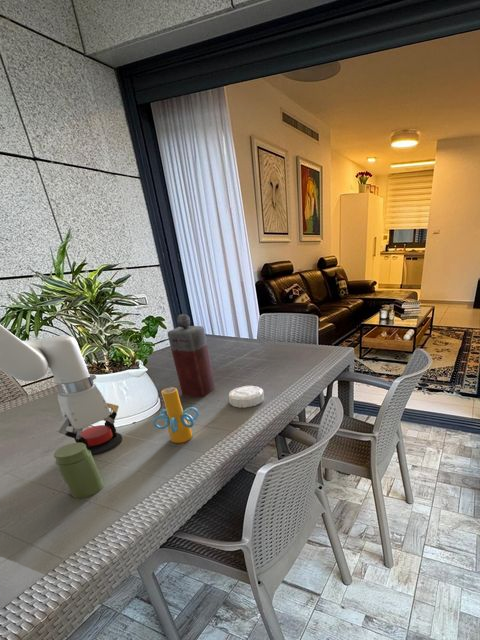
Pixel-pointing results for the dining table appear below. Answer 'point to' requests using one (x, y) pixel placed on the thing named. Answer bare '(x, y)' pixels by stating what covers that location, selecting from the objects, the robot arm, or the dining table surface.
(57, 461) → the jar
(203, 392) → the red square decanter
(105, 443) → the coaster
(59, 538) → the dining table surface
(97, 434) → the jar lid
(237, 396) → the mooncake
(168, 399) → the cylinder
